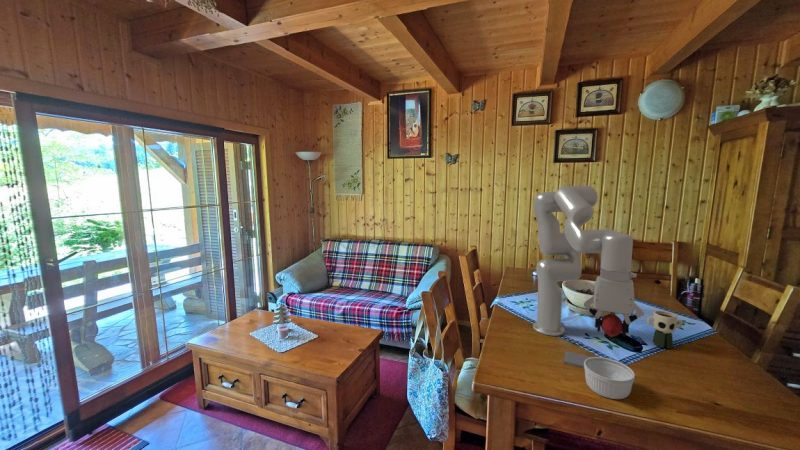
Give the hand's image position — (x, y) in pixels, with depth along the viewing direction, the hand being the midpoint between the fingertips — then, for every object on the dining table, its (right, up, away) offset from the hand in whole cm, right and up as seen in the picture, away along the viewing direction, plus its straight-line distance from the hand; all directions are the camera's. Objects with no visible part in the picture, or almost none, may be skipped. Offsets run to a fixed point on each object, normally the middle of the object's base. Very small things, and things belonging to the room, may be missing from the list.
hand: (611, 331), depth 99 cm
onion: (0, -2, 0) cm, 2 cm away
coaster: (-1, -17, +18) cm, 25 cm away
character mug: (+38, -15, +27) cm, 49 cm away
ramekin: (0, -19, +2) cm, 19 cm away
